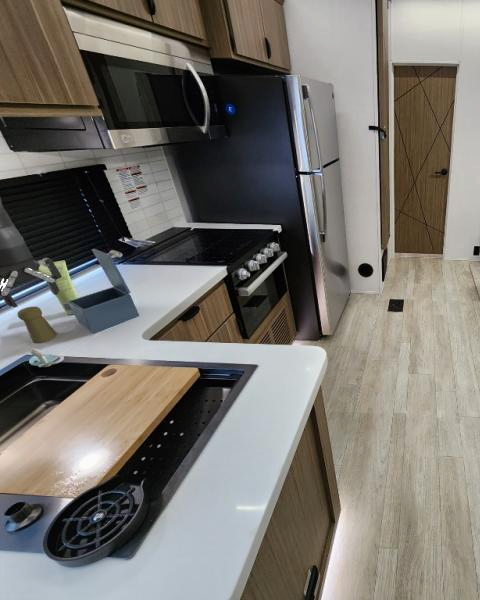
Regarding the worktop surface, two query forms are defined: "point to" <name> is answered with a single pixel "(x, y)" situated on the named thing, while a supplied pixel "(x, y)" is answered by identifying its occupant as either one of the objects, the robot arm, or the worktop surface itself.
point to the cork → (36, 325)
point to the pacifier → (43, 358)
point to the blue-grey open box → (103, 309)
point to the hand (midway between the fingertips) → (35, 300)
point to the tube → (62, 285)
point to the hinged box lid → (111, 268)
